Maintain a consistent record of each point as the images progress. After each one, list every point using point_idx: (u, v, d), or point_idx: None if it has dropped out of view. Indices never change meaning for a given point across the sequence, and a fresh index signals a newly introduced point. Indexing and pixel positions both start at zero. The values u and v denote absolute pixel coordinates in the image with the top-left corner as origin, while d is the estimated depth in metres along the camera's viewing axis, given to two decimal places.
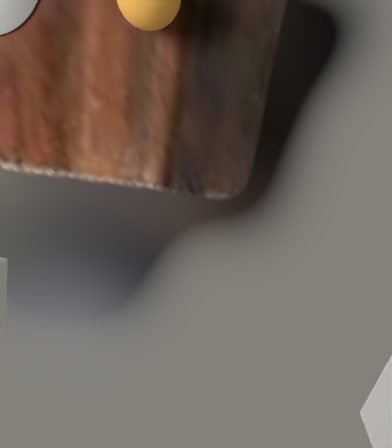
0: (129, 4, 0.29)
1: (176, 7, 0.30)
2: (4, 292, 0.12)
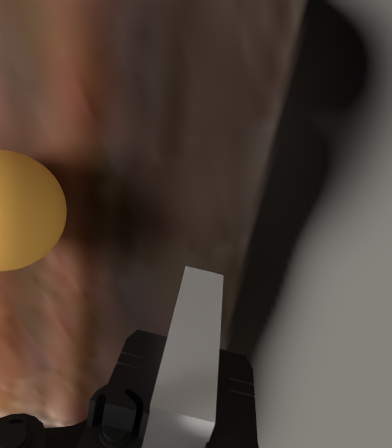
0: None
1: (51, 240, 0.16)
2: None
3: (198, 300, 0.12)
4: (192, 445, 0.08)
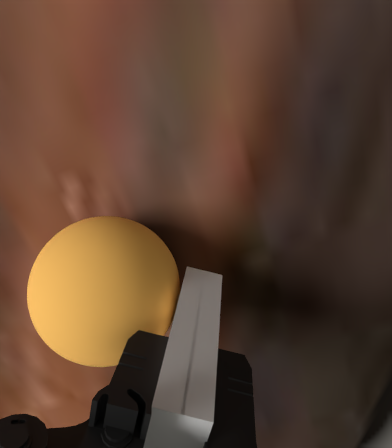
0: (44, 340, 0.12)
1: None
2: None
3: (197, 300, 0.12)
4: (190, 445, 0.08)
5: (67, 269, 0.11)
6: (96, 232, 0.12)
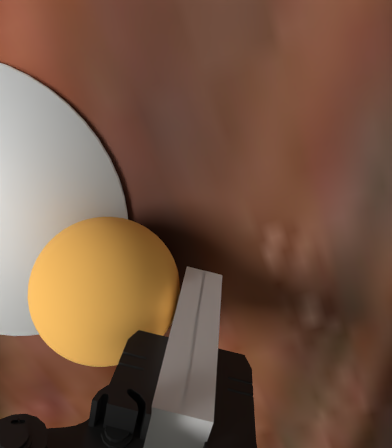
0: None
1: (93, 353, 0.12)
2: None
3: (197, 300, 0.12)
4: (190, 445, 0.08)
5: (51, 241, 0.13)
6: (91, 222, 0.13)
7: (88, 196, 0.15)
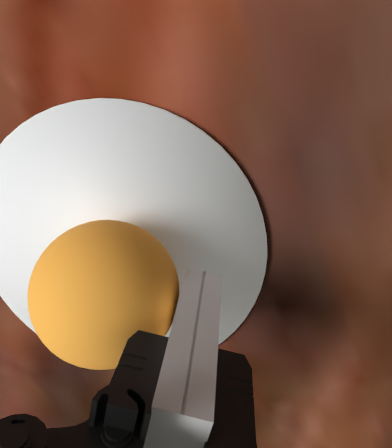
0: None
1: (67, 350, 0.12)
2: None
3: (197, 300, 0.12)
4: (190, 445, 0.08)
5: None
6: (92, 223, 0.13)
7: (230, 235, 0.15)
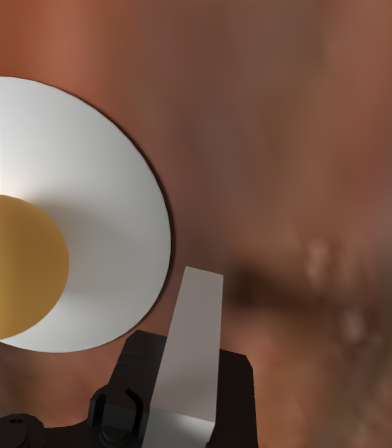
0: None
1: None
2: None
3: (198, 300, 0.12)
4: (192, 445, 0.08)
5: None
6: None
7: (132, 214, 0.15)
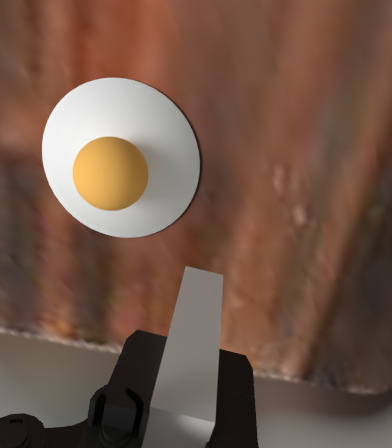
0: None
1: (90, 189, 0.25)
2: None
3: (198, 300, 0.12)
4: (192, 445, 0.08)
5: None
6: None
7: (179, 151, 0.29)
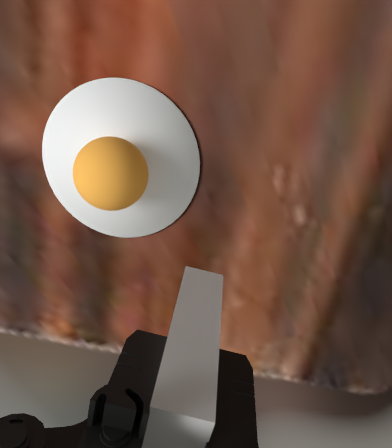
0: None
1: (91, 189, 0.25)
2: None
3: (198, 300, 0.12)
4: (192, 445, 0.08)
5: None
6: None
7: (179, 151, 0.29)
